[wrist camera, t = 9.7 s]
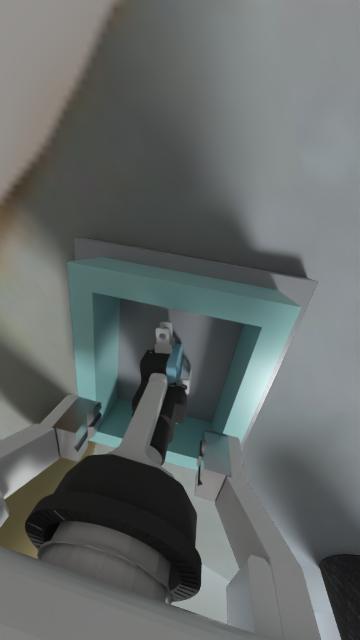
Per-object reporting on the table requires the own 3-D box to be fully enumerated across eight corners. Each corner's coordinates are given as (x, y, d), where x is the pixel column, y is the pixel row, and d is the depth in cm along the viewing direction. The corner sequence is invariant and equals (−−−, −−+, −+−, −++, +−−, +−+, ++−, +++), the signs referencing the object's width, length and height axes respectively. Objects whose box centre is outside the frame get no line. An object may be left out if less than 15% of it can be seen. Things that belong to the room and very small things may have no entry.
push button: (130, 317, 13) (-89, 515, 3) (210, 320, 12) (204, 594, 3) (139, 394, 15) (28, 626, 6) (206, 401, 14) (195, 682, 5)
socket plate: (308, 277, 11) (358, 297, 7) (240, 434, 17) (248, 492, 13) (85, 237, 12) (28, 236, 8) (92, 396, 18) (59, 439, 14)
